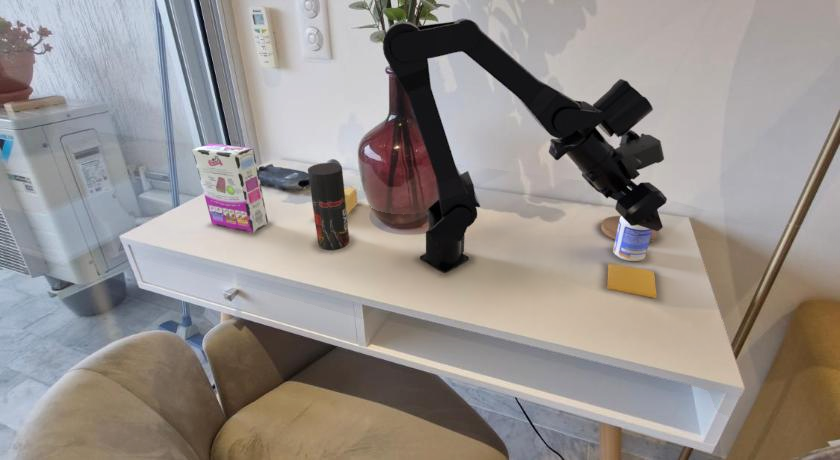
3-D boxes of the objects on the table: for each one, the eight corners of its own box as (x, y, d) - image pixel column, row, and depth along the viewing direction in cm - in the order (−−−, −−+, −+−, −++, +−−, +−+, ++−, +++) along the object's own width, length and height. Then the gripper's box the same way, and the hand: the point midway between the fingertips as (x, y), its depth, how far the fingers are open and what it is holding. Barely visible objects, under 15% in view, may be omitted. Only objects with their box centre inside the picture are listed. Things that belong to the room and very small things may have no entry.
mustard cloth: (655, 298, 67) (656, 295, 67) (607, 288, 70) (607, 285, 69) (653, 274, 73) (653, 271, 73) (608, 266, 75) (609, 263, 75)
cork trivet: (642, 250, 80) (643, 245, 79) (591, 231, 86) (592, 226, 86) (664, 232, 86) (665, 227, 85) (615, 215, 92) (616, 211, 92)
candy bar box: (270, 223, 91) (255, 147, 83) (253, 234, 87) (236, 155, 79) (228, 215, 95) (210, 141, 87) (210, 225, 91) (190, 148, 83)
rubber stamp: (341, 223, 91) (335, 168, 85) (315, 220, 92) (308, 166, 86) (358, 203, 99) (353, 152, 94) (334, 201, 100) (328, 151, 95)
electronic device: (249, 191, 110) (295, 193, 103) (245, 169, 108) (291, 170, 101) (276, 183, 117) (320, 184, 111) (272, 162, 116) (316, 162, 109)
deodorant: (349, 249, 81) (341, 173, 74) (316, 251, 81) (305, 175, 74) (349, 234, 87) (342, 162, 79) (319, 236, 86) (309, 163, 79)
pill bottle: (651, 259, 77) (665, 209, 72) (626, 264, 76) (638, 214, 71) (630, 244, 82) (642, 197, 77) (606, 249, 80) (616, 201, 76)
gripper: (670, 137, 59) (724, 209, 64) (611, 106, 75) (658, 165, 81) (602, 192, 62) (658, 256, 68) (559, 151, 79) (608, 205, 84)
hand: (645, 216), depth 75 cm, fingers open, 9 cm apart
